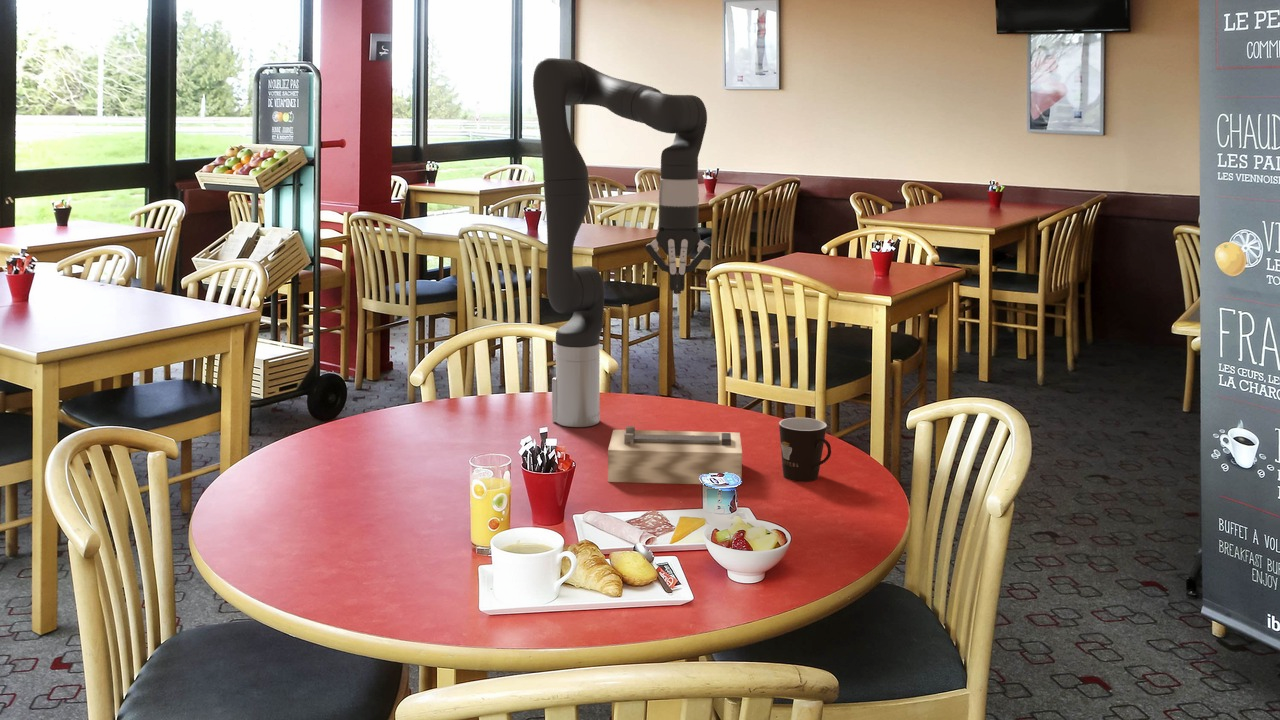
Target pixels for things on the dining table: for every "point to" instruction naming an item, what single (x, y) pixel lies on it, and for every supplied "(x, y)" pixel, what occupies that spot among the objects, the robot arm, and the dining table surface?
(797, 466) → the coffee mug
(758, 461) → the dining table surface
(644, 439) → the strap
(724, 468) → the tea crate
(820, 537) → the dining table surface
